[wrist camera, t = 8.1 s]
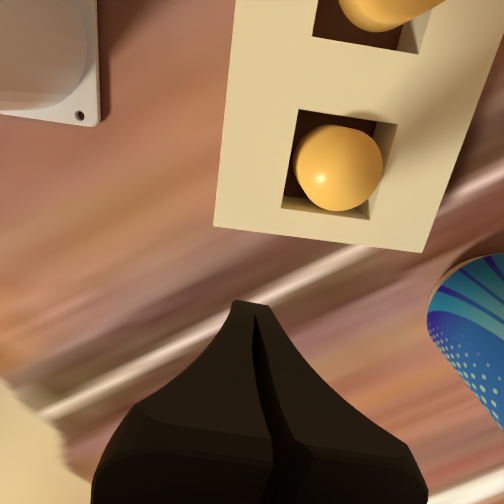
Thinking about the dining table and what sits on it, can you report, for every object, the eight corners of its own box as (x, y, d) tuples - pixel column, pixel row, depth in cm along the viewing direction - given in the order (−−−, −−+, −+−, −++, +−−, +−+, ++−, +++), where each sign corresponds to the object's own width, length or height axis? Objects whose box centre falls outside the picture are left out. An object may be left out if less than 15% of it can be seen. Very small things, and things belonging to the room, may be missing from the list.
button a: (286, 190, 20) (293, 205, 17) (300, 119, 19) (310, 122, 16) (351, 199, 20) (370, 215, 17) (369, 130, 19) (393, 134, 16)
